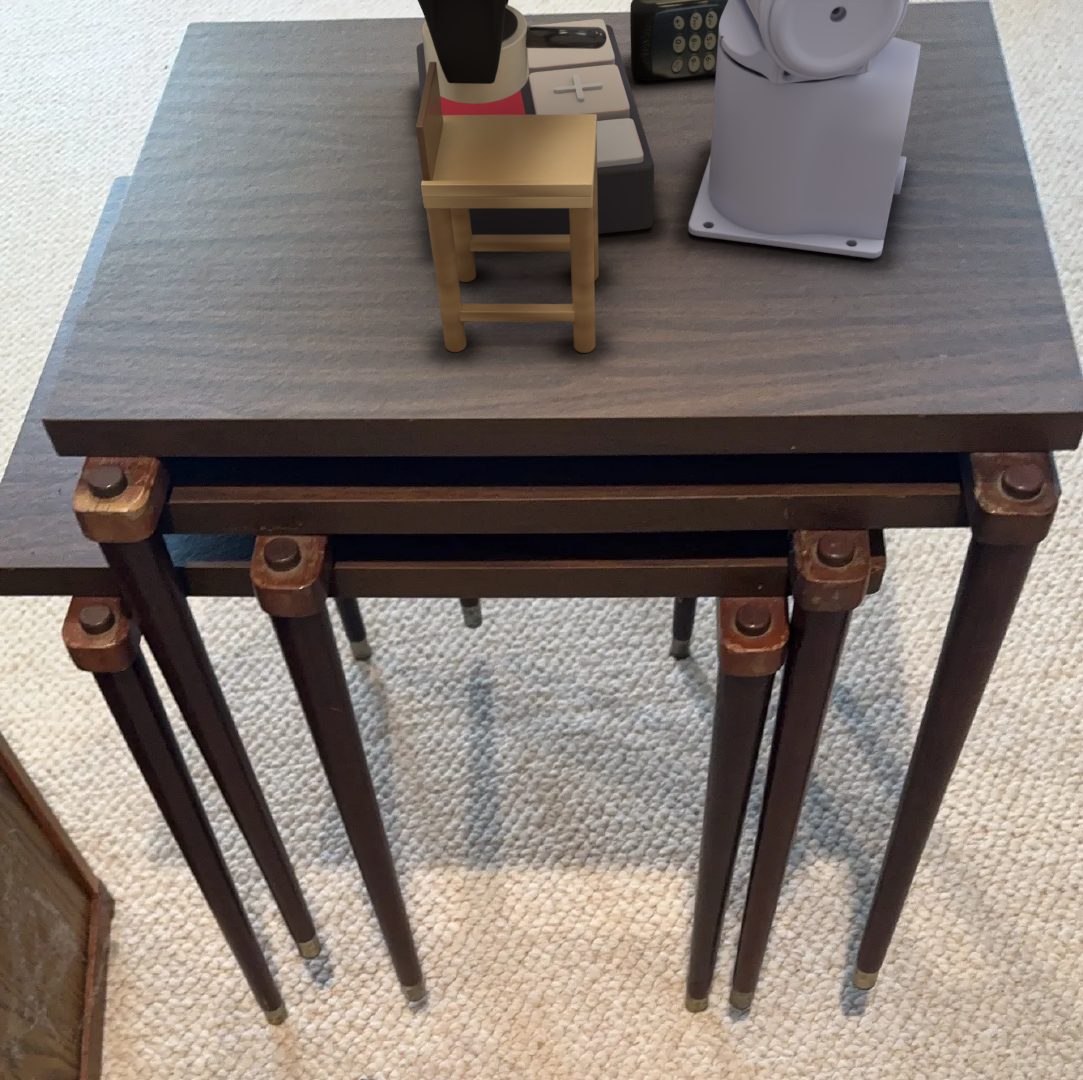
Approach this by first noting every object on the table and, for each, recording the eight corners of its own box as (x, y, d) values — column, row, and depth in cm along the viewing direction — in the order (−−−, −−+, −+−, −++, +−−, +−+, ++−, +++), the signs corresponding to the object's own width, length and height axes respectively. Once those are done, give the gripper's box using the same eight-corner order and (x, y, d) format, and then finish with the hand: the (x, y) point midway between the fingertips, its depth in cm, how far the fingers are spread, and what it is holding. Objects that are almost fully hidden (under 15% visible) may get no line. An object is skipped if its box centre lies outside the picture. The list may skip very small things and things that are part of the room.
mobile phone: (632, 10, 69) (909, -22, 69) (625, -18, 71) (894, -49, 71) (633, 93, 73) (896, 62, 73) (626, 64, 75) (882, 35, 75)
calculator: (611, 8, 71) (656, 152, 61) (612, 81, 74) (654, 229, 64) (413, 28, 71) (426, 176, 61) (423, 100, 74) (436, 252, 64)
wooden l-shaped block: (597, 125, 57) (596, 52, 54) (592, 208, 53) (591, 134, 50) (439, 126, 57) (430, 53, 54) (424, 209, 53) (413, 135, 51)
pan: (420, 103, 56) (415, 51, 54) (433, 48, 59) (428, -3, 57) (604, 106, 56) (605, 53, 54) (607, 50, 59) (608, -2, 57)
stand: (599, 269, 63) (597, 125, 57) (595, 353, 59) (592, 208, 53) (457, 269, 63) (439, 126, 57) (444, 352, 59) (424, 209, 53)
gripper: (372, -371, 51) (408, -35, 61) (308, -226, 42) (362, 139, 52) (550, -372, 51) (555, -34, 61) (524, -227, 41) (535, 142, 52)
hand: (477, 46), depth 57 cm, fingers closed on pan, 4 cm apart
